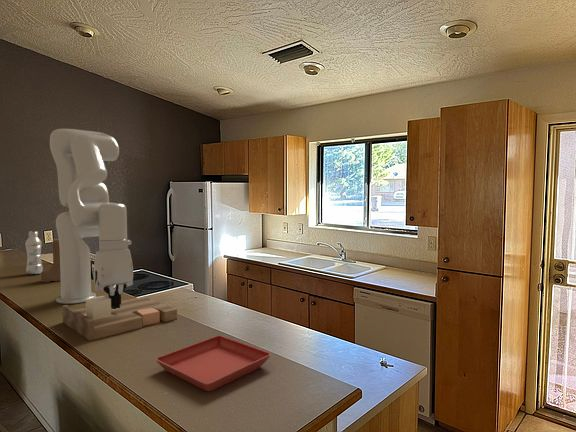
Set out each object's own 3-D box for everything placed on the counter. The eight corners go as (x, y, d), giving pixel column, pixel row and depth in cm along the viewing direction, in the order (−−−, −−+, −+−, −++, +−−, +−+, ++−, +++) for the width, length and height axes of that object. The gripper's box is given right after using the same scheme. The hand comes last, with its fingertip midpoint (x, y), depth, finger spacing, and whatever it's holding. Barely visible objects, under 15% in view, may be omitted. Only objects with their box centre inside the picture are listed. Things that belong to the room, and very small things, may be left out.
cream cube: (86, 316, 113) (85, 299, 113) (103, 312, 117) (103, 295, 117) (93, 320, 110) (92, 302, 110) (111, 316, 114) (110, 298, 113)
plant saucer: (207, 400, 74) (206, 383, 74) (153, 372, 85) (153, 357, 85) (272, 368, 88) (272, 353, 87) (219, 347, 99) (219, 334, 99)
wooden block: (41, 282, 169) (40, 240, 168) (42, 280, 173) (41, 239, 172) (65, 280, 173) (64, 239, 172) (66, 278, 177) (65, 238, 176)
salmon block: (136, 322, 118) (136, 310, 118) (153, 318, 121) (153, 307, 121) (142, 326, 114) (142, 314, 114) (159, 323, 117) (159, 311, 117)
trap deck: (62, 322, 117) (62, 305, 117) (144, 305, 135) (144, 290, 135) (89, 340, 103) (89, 321, 102) (177, 318, 121) (176, 302, 120)
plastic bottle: (37, 275, 184) (36, 232, 183) (22, 275, 184) (21, 232, 183) (46, 272, 190) (44, 231, 189) (32, 272, 190) (30, 231, 189)
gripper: (132, 242, 124) (133, 300, 125) (81, 247, 114) (83, 310, 114) (143, 244, 119) (145, 305, 120) (91, 249, 108) (93, 315, 109)
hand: (115, 307), depth 117 cm, fingers closed
